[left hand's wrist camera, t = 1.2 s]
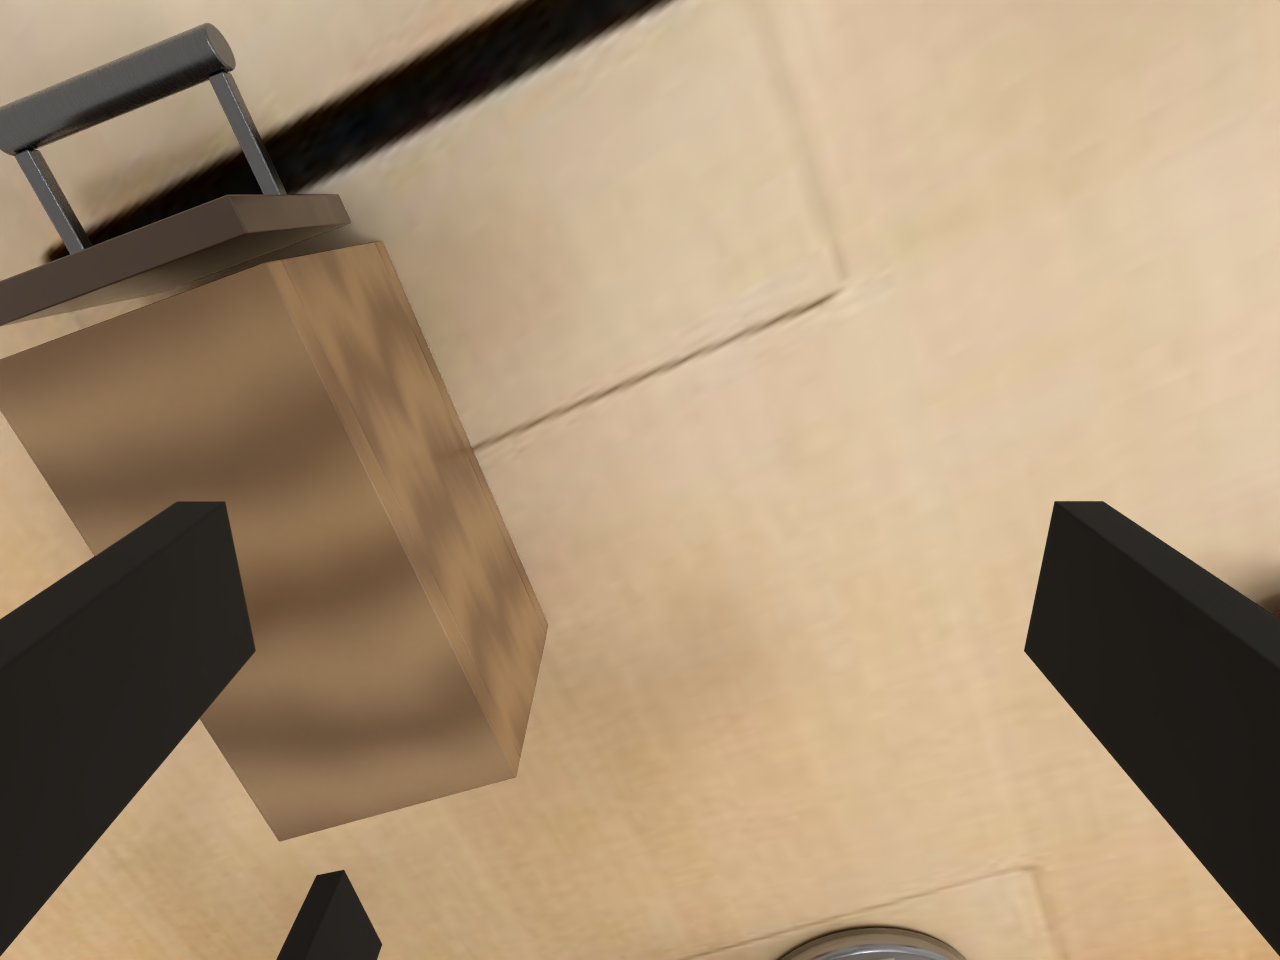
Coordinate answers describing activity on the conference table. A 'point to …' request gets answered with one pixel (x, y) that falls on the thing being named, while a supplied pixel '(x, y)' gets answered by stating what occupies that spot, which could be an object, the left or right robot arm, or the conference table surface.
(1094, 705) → the left robot arm
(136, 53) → the drawer
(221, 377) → the cabinet
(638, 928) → the conference table surface
